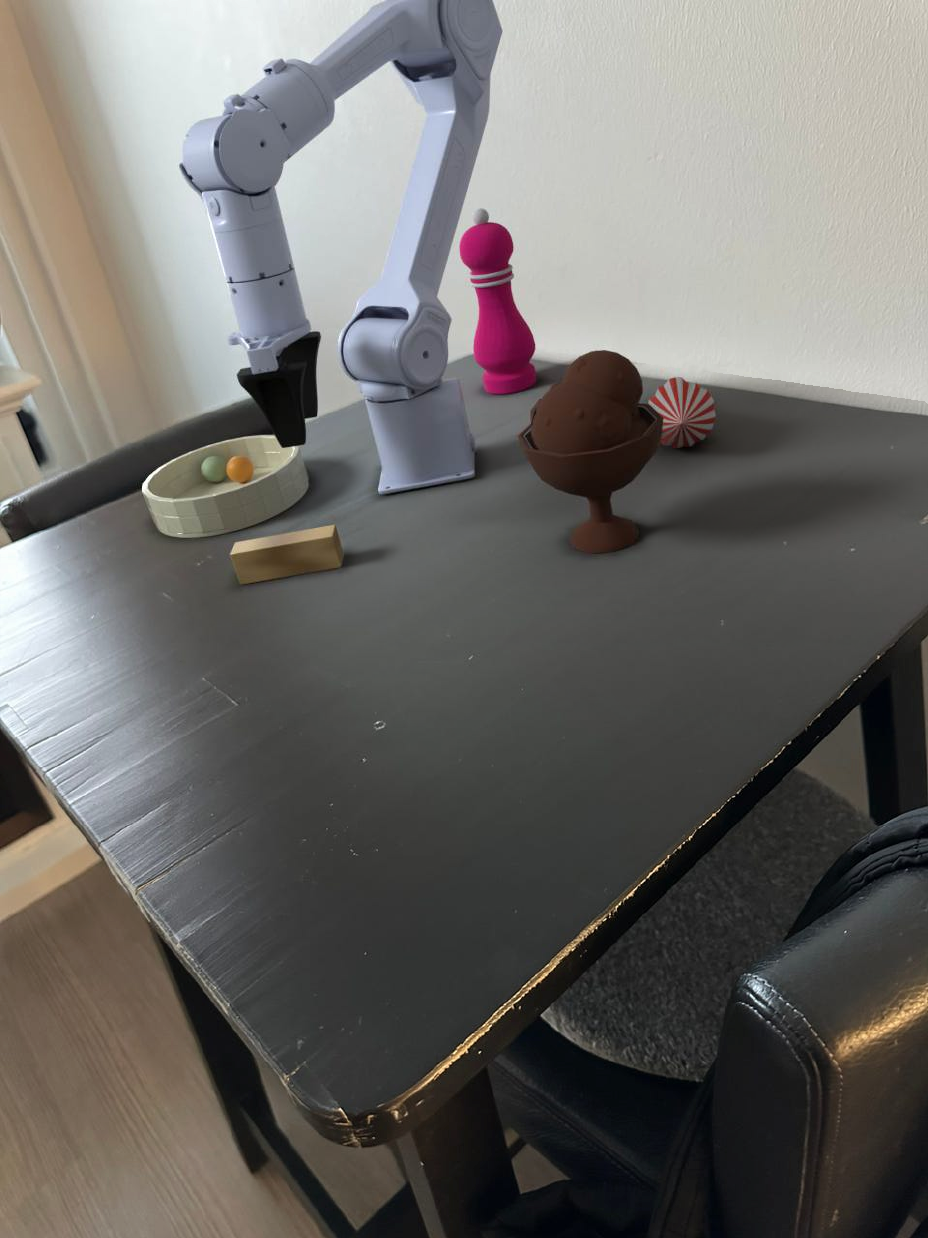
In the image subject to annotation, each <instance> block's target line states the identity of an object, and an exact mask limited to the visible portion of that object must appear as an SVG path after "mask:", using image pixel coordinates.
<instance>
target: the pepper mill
mask: <svg viewBox="0 0 928 1238" xmlns="http://www.w3.org/2000/svg"><path fill="white" fill-rule="evenodd" d="M489 219H490V214H489V212H488V210H486V209H485V208H477V209H476V210H474V212H473V214H472V221H473V223H474V224H475V225H472V226H471V227H469V228H468V229H467V230H466V231H465V232H464V233H463V234H462V237H461V239H460V241H459V247H458V248H459V256H460V259H461V262H462V263H463V264H464V265H465V266H466V267H467V268H468V269H469V270H470V272H469V273H468V278H469V280H470V282H469V285H470V286H471V287H472V288H474V290H475V294H476V297H477V304H478V318H477V319H478V320H477V325H476V328H475V332H474V338H473V347H472V349H473V356H474V361H475V362H476V364H477V365H478V366H479V367H481V368H482V369H483V370H484V371H485V372H484V373H483V374H482V377H481V378H482V383H483V387H484V390H485V392H486V393H488V394H490V395H491V394H492V395H509V394H514V393H518V392H522V391H524V390H527V389H529V388H531V387H533V386H534V385H535V384H536V382H537V381H538V379H537V373H536V372H537V371H536V366H535V365H534V364H533V363H531V362H530V361H531V360H532V359H533V357H534V354H535V351H536V342H535V338H534V334H533V333H532V330H531V329H530V327H529V325H528V324H527V322H526V320H525V319H524V317H523V316H522V314H521V312H520V311H519V309H518V307H517V305H516V302H515V299H514V295H513V294H514V293H513V291H512V280H513V279H514V278H515V274H514V273H513V265H512V264H510V263H509V262H510V259H511V257H512V255H513V253H514V247H515V246H514V241H513V237H512V235H511V233H510V232H509V231H508V228H506V227H505V226H504V225H502V224H500V223H497V222H492V221H490V220H489Z"/></svg>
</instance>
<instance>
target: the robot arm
mask: <svg viewBox="0 0 928 1238" xmlns="http://www.w3.org/2000/svg"><path fill="white" fill-rule="evenodd" d="M502 34H503V28H502V24H501V22H500V19H499V15H498V13H497V10H496V6H495V4H494V0H385V1H381V2H379V3H376V4H374V5H372V6H371V7H370V8H369V10H368V11H367V12H366V13H364V15H362V16H361V17H360V18H358V20H357V21H356V22H354V24H352V25H351V26H350V27H349V28H348V29H347V30H345V31H344V32H343V33H342V34H341V35H340V36H339V37H337V38H336V39H335V40H334V41H333V42H332V43H330V44H329V46H328V47H326V48H325V49H324V50H323V51H322V52H320V54H319V55H317V56H316V57H315V58H314V59H313V60H312V61H311V62H308V61H307V62H306V61H304V60H301V59H298V58H290V59H286V60H284V59H283V58H277V59H274V60H271V61H269V62H268V63H266V65H264V66H263V67H262V72H263V74H264V75H265V76H264V77H263V78H262V79H260V80H259V81H258V82H257V83H255V84H254V85H252V87H250V88H248V90H246V91H245V92H244V93H242V94H241V95H240V94H238V93H235V94H231V95H229V96H227V97H226V98H225V99H224V100H222V104H223V106H224V109H223V111H222V113H221V115H219V116H214V117H208V118H204V119H200V120H198V121H196V122H195V123H193V125H191V126H190V127H189V129H188V130H187V132H186V134H185V137H186V139H185V140H183V143H182V160H183V161H181V162H180V163H179V164H178V167H179V171H180V173H181V175H182V177H183V179H184V180H185V182H186V183H187V185H188V186H189V187H190V188H191V189H192V190H193V191H194V192H195V193H196V194H197V195H198V196H199V197H200V199H201V201H202V204H203V208H204V211H205V214H206V215H208V219H209V223H210V228H211V231H212V234H213V238H214V241H215V245H216V250H217V251H218V256H219V261H220V263H221V267H222V271H223V275H224V278H225V282H226V285H227V288H228V294H229V296H230V301H231V303H232V307H233V311H234V314H235V319H236V323H237V326H238V329H239V331H235V332H231V333H230V334H229V335H228V336H227V341H228V345H229V346H237V345H241V346H242V348H244V350H245V351H246V355H247V359H248V361H249V366H248V367H243V368H240V369H239V370H238V372H237V373H236V378H237V381H238V383H239V385H240V387H242V388H243V389H244V390H245V391H246V393H247V394H249V396H250V397H251V398H252V399H253V401H254V402H255V404H256V405H257V406H258V408H259V409H260V411H261V412H262V414H263V416H264V417H265V420H266V421H267V424H268V425H269V427H270V429H271V431H272V433H273V435H275V437H276V439H277V441H278V442H279V444H280V446H281V447H282V448H287V447H293V446H299V447H300V446H304V445H306V443H307V425H306V420H307V419H312V418H317V417H318V414H319V413H318V412H319V399H318V396H319V395H318V383H317V382H318V381H317V365H318V355H319V348H320V344H321V340H322V334H321V332H320V331H318V330H317V331H315V330H313V331H312V326H311V325H312V324H311V322H310V321H311V320H309V319H308V318H307V315H306V310H305V306H304V303H303V298H302V293H301V290H300V285H299V280H298V278H297V273H296V269H295V265H294V260H293V257H292V252H291V248H290V244H289V239H288V236H287V235H288V234H287V230H286V228H285V227H286V226H285V223H284V219H283V214H282V211H281V206H280V203H279V198H278V194H277V189H276V186H277V185H278V183H279V181H280V179H281V177H282V175H283V170H284V165H285V163H286V162H287V161H289V160H290V159H291V158H292V157H293V156H294V155H295V154H297V153H298V152H299V151H301V150H302V149H303V148H305V146H307V145H308V144H309V143H311V141H312V140H314V139H315V138H316V137H318V136H319V135H320V134H321V133H322V132H324V131H325V130H326V129H327V128H329V127H330V125H332V123H333V122H334V118H335V113H336V104H335V101H336V100H338V99H339V98H340V97H342V96H343V95H344V94H346V93H347V92H348V91H350V90H352V89H353V88H354V87H355V86H358V84H360V83H361V82H363V81H364V80H365V79H367V78H368V77H369V76H371V75H372V74H374V73H375V72H376V71H378V70H379V69H380V68H382V67H383V66H385V65H386V64H387V63H390V64H391V66H392V67H393V69H394V71H395V72H396V74H397V75H398V76H399V78H400V79H401V81H402V83H403V84H404V85H405V87H406V88H407V90H408V91H409V94H410V95H411V96H412V97H413V99H414V100H415V102H416V103H417V104H418V105H420V106H422V108H423V110H424V112H425V120H424V124H423V127H422V130H421V135H420V138H419V142H418V145H417V149H416V152H415V155H414V160H413V163H412V165H411V166H412V167H411V170H410V172H409V173H410V174H409V178H408V180H407V183H406V188H405V191H404V194H403V199H402V201H401V205H400V209H399V212H398V215H397V219H396V223H395V227H394V230H393V234H392V237H391V241H390V245H389V248H388V251H387V254H386V258H385V261H384V265H383V269H382V272H381V275H380V278H379V280H378V281H376V283H375V284H374V285H372V286H371V287H370V288H369V289H368V290H367V291H365V293H364V294H362V296H360V297H359V299H358V300H357V303H356V307H355V310H354V312H353V315H352V316H351V318H350V319H349V320H348V322H347V323H345V325H344V326H343V328H342V329H341V332H340V334H339V338H338V341H337V357H338V362H339V364H340V367H341V369H342V371H343V373H345V375H346V376H347V377H348V378H349V379H351V380H352V381H354V382H356V383H357V386H358V390H359V393H361V394H362V395H363V397H364V401H365V405H366V409H367V410H366V411H367V414H368V417H369V421H370V426H371V430H372V434H373V437H374V441H375V445H376V449H377V453H378V458H379V462H380V465H381V471H380V472H381V473H380V478H379V484H378V489H377V492H378V494H379V495H387V494H393V493H398V492H403V491H410V490H414V489H420V488H427V487H431V486H435V485H442V484H447V483H453V482H459V481H464V480H469V479H473V478H475V476H476V471H475V470H476V468H475V467H476V466H475V464H476V463H475V452H476V451H477V448H476V442H475V438H474V437H475V436H474V434H473V432H471V428H470V424H469V419H468V413H467V408H466V403H465V399H464V393H463V389H462V385H461V382H460V379H459V378H457V377H456V378H455V377H454V378H446V379H445V378H444V379H443V378H442V377H443V376H444V374H445V371H446V369H447V366H448V362H449V361H448V360H449V340H448V339H449V332H450V328H451V324H452V320H453V319H452V317H451V315H450V313H449V312H448V311H447V308H446V307H445V306H444V305H443V303H442V302H441V300H440V299H439V298H438V294H439V291H440V288H441V284H442V281H443V277H444V273H445V269H446V266H447V263H448V259H449V256H450V252H451V249H452V245H453V243H454V239H455V234H456V231H457V227H458V225H459V222H460V221H459V220H460V218H461V214H462V210H463V206H464V205H465V204H464V203H465V200H466V196H467V193H468V189H469V185H470V183H471V180H472V175H473V173H474V168H475V164H476V161H477V157H478V154H479V150H480V147H481V144H482V141H483V138H484V137H483V136H484V133H485V130H486V126H487V123H488V119H489V115H490V102H491V101H490V100H491V77H492V76H491V73H492V70H493V68H494V67H493V66H494V63H495V59H496V56H497V53H498V48H499V45H500V42H501V39H502Z"/></svg>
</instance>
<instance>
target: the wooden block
mask: <svg viewBox="0 0 928 1238" xmlns="http://www.w3.org/2000/svg"><path fill="white" fill-rule="evenodd" d="M229 556H230V560H231V562H232V566H233V568H234V571H235V573H236V576H237V579H238V582H239V585H248V584H252V583H259V582H264V581H270V580H276V579H281V578H286V577H293V576H299V575H304V574H309V573H316V572H321V571H328V570H332V569H339V568H342V566H343V565H342V564H343V560H344V556H345V553H344V549H343V546H342V543H341V539H340V535H339V532H338V528H337V525H336V524H330V525H325V526H319V527H314V528H308V529H301V530H296V531H290V532H286V533H280V534H275V535H269V536H263V537H258V538H252V539H246V540H241V541H236V542H234V544H233V547H232V549H231V551H230V553H229Z"/></svg>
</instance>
